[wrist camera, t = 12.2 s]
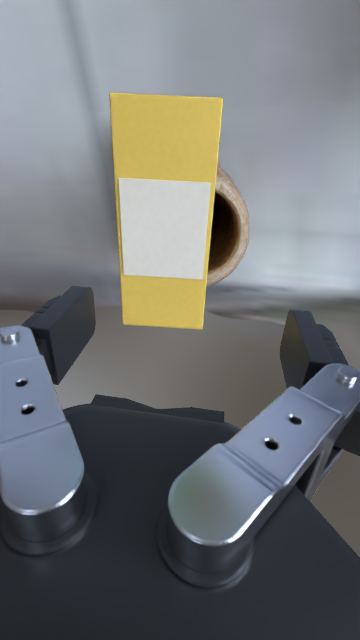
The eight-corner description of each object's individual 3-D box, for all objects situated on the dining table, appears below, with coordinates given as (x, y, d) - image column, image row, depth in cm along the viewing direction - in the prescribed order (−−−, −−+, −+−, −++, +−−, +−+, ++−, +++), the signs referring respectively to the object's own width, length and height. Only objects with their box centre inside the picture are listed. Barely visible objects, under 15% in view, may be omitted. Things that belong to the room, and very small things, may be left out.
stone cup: (246, 248, 40) (255, 301, 27) (151, 260, 43) (117, 314, 30) (235, 101, 34) (241, 78, 20) (122, 124, 36) (62, 116, 23)
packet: (121, 95, 21) (108, 92, 18) (220, 99, 21) (223, 97, 18) (130, 302, 29) (122, 325, 26) (202, 307, 29) (202, 330, 26)
